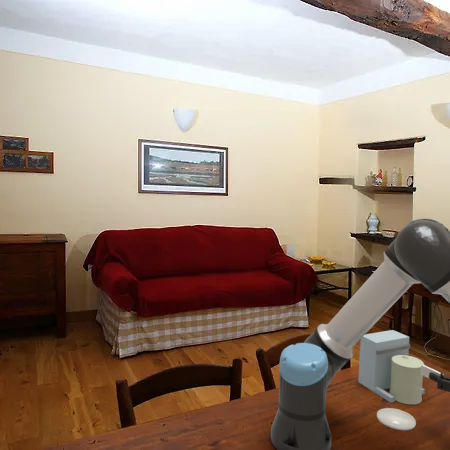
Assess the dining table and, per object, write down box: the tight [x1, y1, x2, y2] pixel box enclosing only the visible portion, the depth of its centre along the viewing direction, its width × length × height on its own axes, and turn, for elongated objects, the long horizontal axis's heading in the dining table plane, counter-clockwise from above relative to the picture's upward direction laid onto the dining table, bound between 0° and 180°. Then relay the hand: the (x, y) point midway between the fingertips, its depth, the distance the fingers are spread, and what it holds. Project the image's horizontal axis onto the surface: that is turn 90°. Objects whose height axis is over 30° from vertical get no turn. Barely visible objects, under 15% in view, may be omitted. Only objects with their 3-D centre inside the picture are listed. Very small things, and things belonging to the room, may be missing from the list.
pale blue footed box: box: [357, 329, 426, 403], centre depth 132 cm, size 14×14×16 cm
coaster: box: [376, 407, 417, 432], centre depth 114 cm, size 10×10×1 cm
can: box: [388, 355, 425, 406], centre depth 126 cm, size 9×9×12 cm
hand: (439, 365), depth 116 cm, fingers open, 13 cm apart
